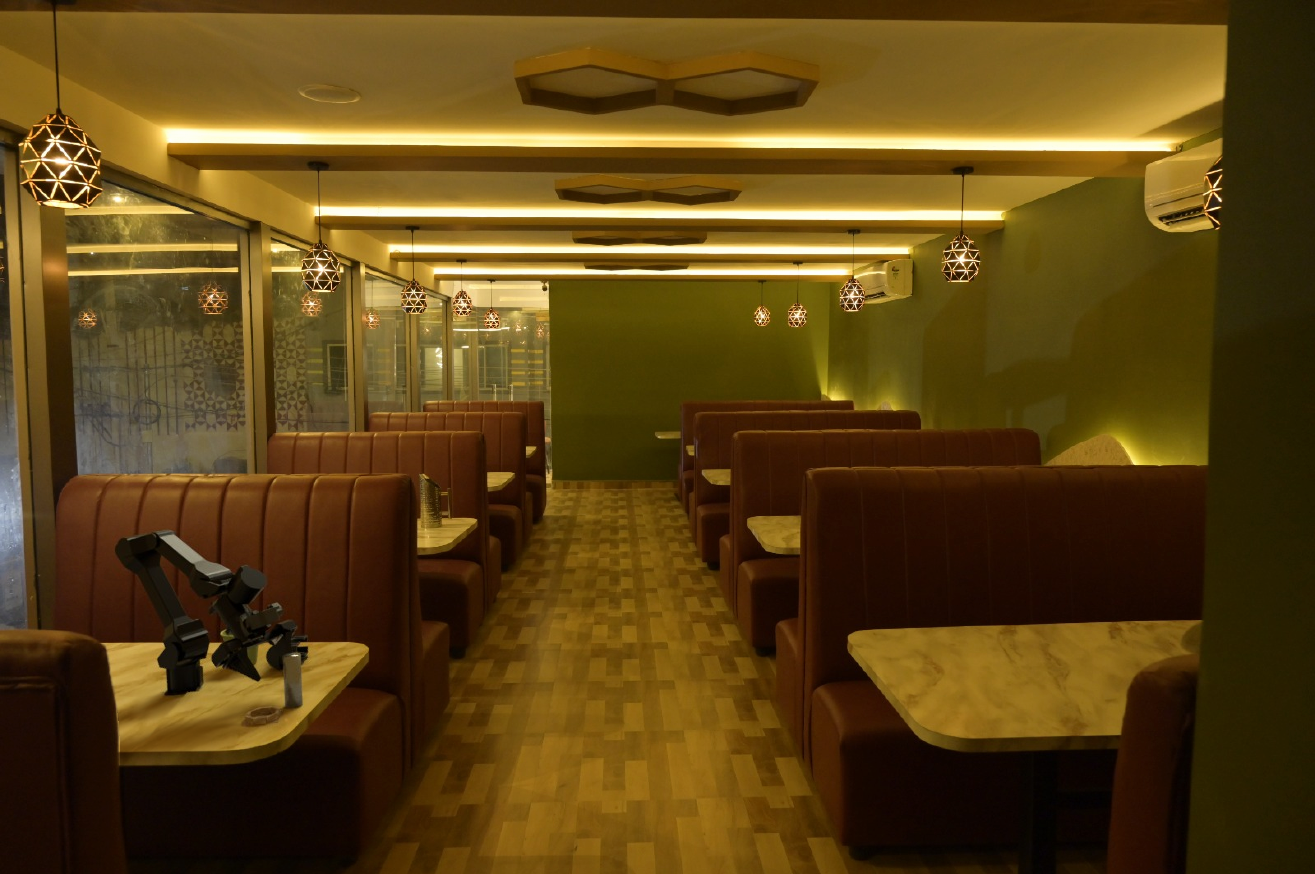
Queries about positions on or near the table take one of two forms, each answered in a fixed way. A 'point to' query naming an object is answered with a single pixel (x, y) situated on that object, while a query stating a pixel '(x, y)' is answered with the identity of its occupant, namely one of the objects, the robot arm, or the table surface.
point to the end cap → (277, 661)
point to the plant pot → (251, 651)
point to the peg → (292, 680)
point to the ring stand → (263, 716)
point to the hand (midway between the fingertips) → (277, 672)
